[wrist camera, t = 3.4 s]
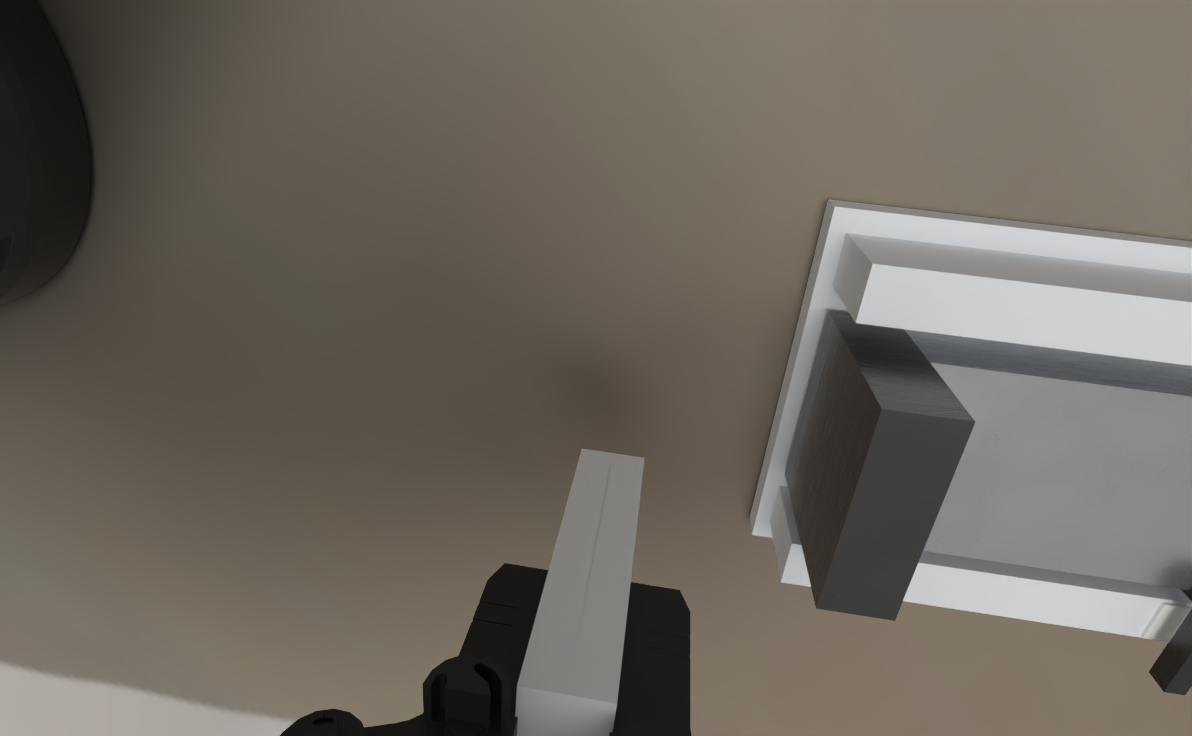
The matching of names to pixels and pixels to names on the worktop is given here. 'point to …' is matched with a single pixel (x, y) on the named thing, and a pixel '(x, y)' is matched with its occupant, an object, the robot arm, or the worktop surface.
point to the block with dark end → (990, 467)
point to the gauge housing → (1000, 313)
